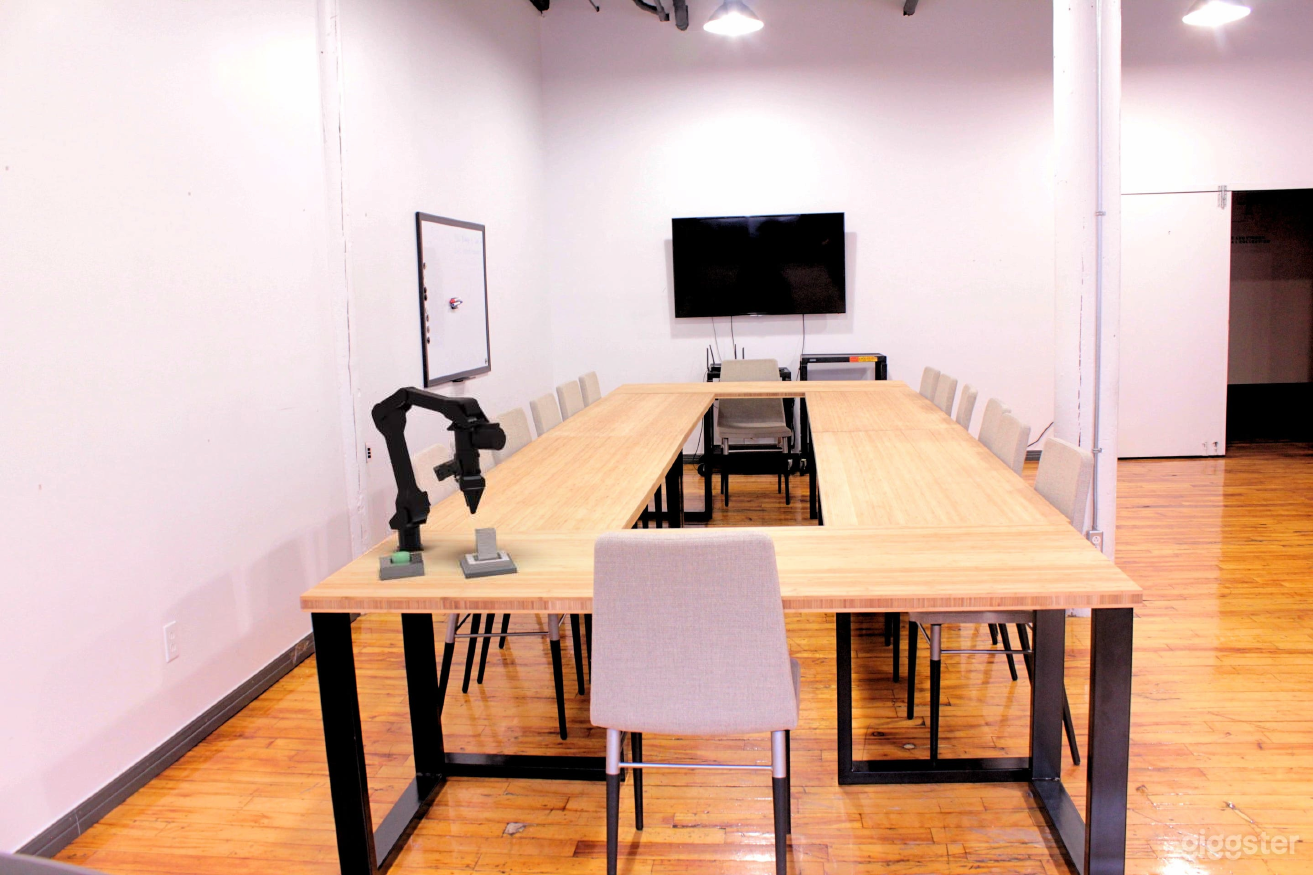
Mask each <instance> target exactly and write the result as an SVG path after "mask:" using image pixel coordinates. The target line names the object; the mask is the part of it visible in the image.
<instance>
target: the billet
mask: <svg viewBox="0 0 1313 875" xmlns="http://www.w3.org/2000/svg"><path fill="white" fill-rule="evenodd" d="M474 535H475V536H474V537H475V550H476V553H477V562H480V561H489V560H498V557H497V551H498V545H497V544H498V543H497V541H498V540H497V531H496V529H495V527H494V526H493V527H483V528H474Z"/></svg>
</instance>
